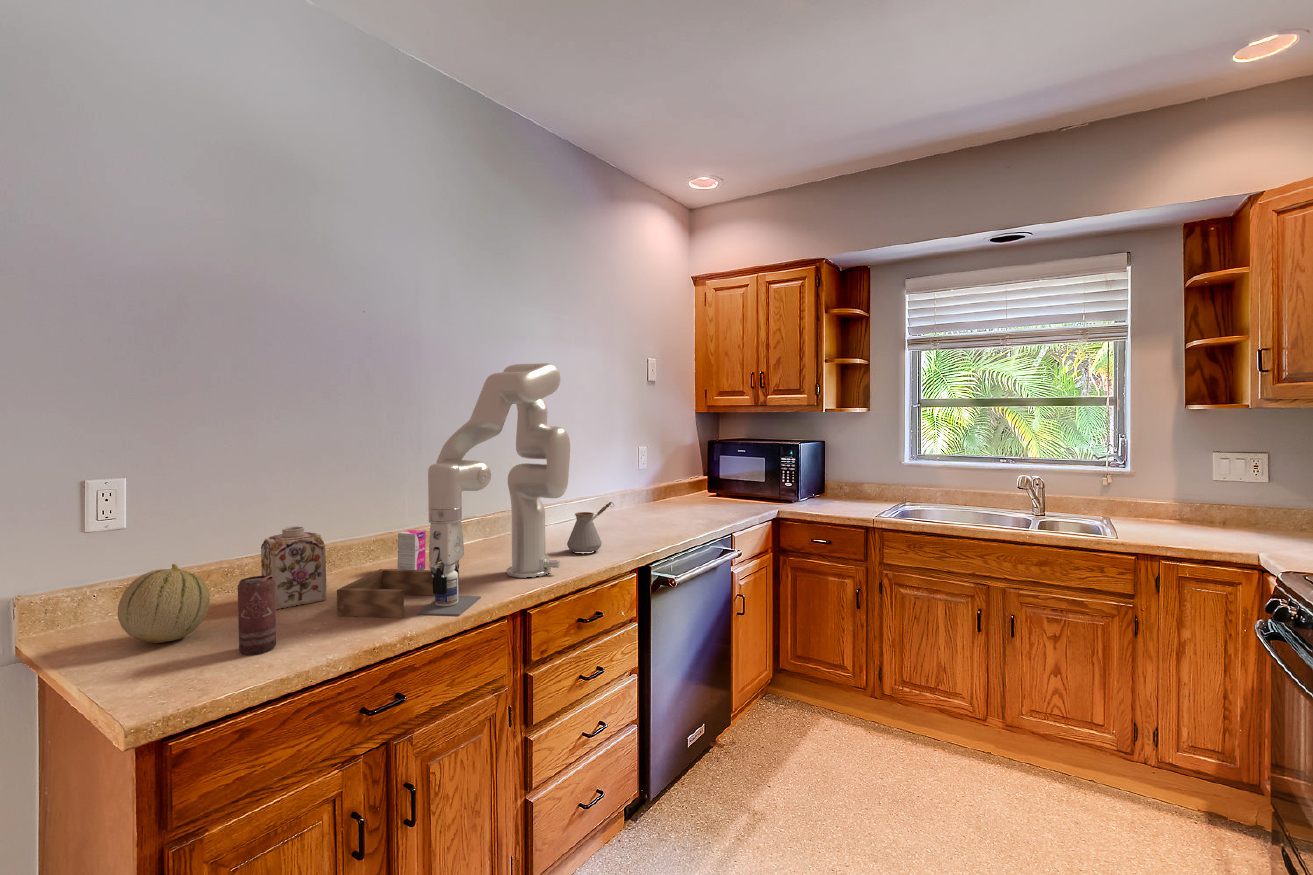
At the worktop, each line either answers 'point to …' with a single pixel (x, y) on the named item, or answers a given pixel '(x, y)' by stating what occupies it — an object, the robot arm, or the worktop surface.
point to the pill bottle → (449, 588)
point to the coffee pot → (585, 532)
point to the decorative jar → (295, 566)
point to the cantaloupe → (163, 605)
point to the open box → (383, 593)
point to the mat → (450, 607)
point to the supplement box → (411, 550)
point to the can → (256, 615)
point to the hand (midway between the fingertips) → (446, 588)
